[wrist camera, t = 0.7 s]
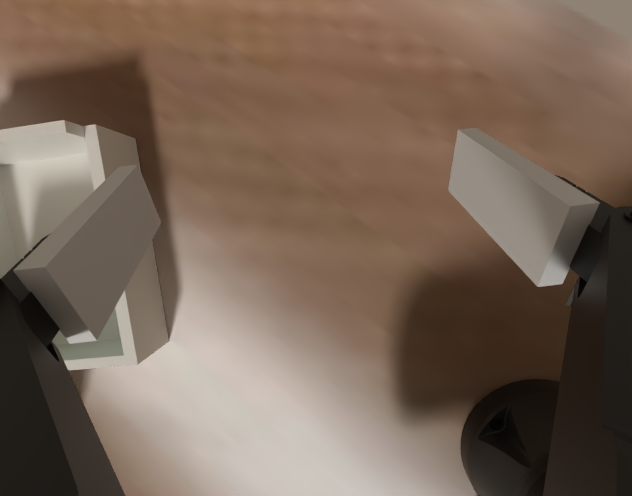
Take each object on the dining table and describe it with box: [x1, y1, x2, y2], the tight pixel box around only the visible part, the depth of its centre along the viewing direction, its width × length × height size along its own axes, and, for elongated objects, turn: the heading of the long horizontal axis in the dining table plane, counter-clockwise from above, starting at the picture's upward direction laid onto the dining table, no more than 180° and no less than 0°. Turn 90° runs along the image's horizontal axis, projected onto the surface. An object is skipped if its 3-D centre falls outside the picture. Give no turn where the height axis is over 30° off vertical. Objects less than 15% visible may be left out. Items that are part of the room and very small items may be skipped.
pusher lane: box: [0, 120, 169, 370], centre depth 33 cm, size 22×16×8 cm
